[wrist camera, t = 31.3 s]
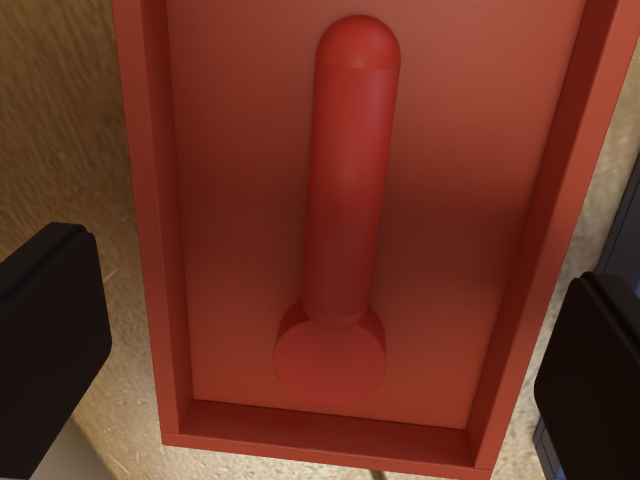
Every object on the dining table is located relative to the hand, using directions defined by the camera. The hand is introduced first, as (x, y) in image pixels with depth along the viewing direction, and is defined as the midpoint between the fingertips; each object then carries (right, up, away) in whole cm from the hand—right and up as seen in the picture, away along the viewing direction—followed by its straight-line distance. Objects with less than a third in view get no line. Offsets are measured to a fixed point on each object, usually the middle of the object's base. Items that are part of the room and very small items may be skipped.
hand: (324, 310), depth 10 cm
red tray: (+1, +2, +4) cm, 4 cm away
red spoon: (0, +2, +4) cm, 4 cm away
